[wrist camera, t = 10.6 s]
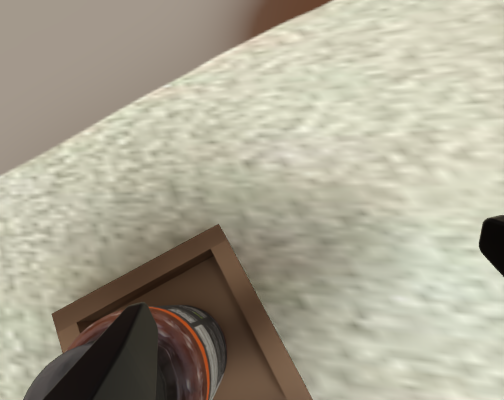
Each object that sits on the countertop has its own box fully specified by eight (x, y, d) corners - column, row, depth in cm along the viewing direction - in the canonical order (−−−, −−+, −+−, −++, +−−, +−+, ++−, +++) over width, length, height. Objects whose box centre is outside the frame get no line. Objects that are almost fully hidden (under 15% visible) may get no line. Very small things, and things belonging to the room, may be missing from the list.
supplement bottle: (133, 409, 18) (-65, 575, 7) (142, 306, 20) (-1, 311, 9) (230, 406, 18) (180, 568, 7) (229, 302, 20) (189, 303, 9)
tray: (306, 387, 18) (314, 402, 15) (140, 496, 17) (115, 535, 14) (224, 234, 22) (218, 223, 19) (81, 312, 20) (51, 314, 17)
